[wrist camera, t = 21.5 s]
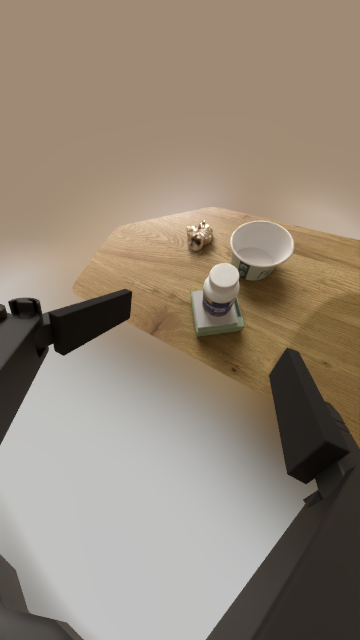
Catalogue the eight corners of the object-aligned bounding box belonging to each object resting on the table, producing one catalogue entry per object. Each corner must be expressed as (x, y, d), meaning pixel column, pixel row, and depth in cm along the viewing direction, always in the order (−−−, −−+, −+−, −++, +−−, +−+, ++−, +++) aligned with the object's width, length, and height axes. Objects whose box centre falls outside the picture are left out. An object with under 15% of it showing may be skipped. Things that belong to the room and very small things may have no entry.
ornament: (194, 225, 44) (194, 212, 41) (217, 234, 43) (219, 221, 39) (179, 246, 42) (177, 234, 39) (202, 255, 41) (203, 244, 37)
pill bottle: (197, 311, 31) (197, 281, 22) (210, 289, 33) (215, 253, 24) (223, 323, 30) (234, 298, 21) (235, 300, 31) (251, 267, 22)
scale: (240, 330, 33) (246, 324, 29) (196, 336, 33) (196, 331, 30) (230, 292, 36) (234, 282, 33) (190, 298, 37) (190, 289, 33)
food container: (245, 237, 41) (253, 212, 35) (289, 260, 38) (306, 237, 31) (214, 267, 39) (218, 245, 33) (258, 295, 35) (271, 277, 29)
